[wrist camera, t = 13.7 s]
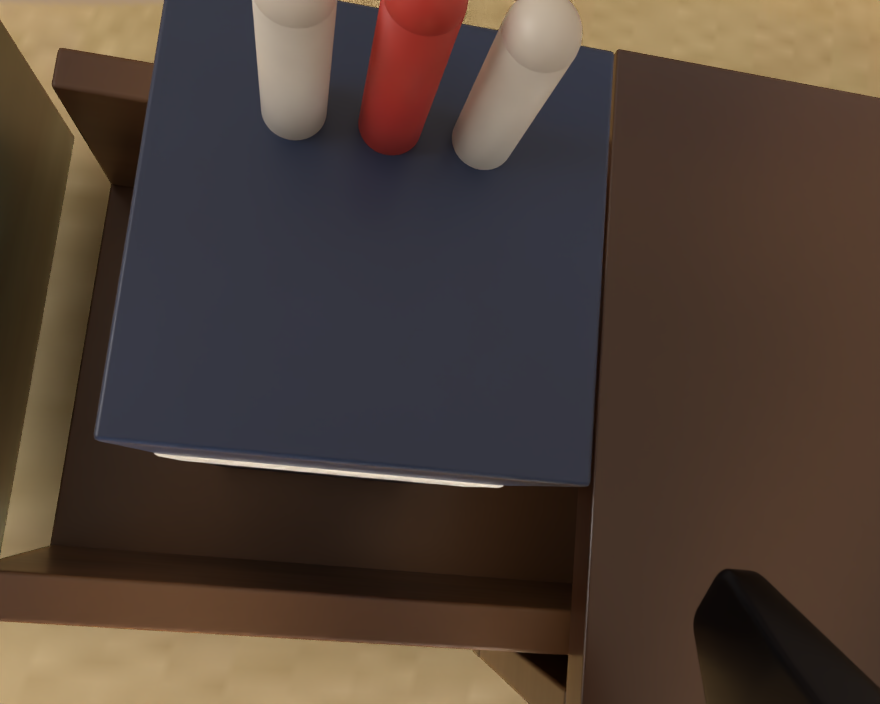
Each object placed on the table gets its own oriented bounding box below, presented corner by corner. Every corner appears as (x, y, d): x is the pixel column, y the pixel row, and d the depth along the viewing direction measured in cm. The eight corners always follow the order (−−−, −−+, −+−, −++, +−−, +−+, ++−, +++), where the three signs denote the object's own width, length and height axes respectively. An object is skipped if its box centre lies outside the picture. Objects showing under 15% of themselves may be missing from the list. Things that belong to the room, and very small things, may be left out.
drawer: (-123, 596, 18) (-334, 654, 12) (-27, 121, 20) (-166, -37, 14) (587, 640, 21) (710, 707, 15) (610, 218, 23) (727, 121, 17)
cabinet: (471, 651, 21) (578, 752, 13) (507, 194, 23) (617, 47, 15) (1021, 684, 24) (1383, 784, 16) (1008, 270, 26) (1319, 179, 18)
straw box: (408, 485, 20) (731, 495, 5) (218, 467, 19) (-22, 423, 4) (424, 305, 20) (748, -124, 6) (243, 282, 20) (107, -271, 5)
